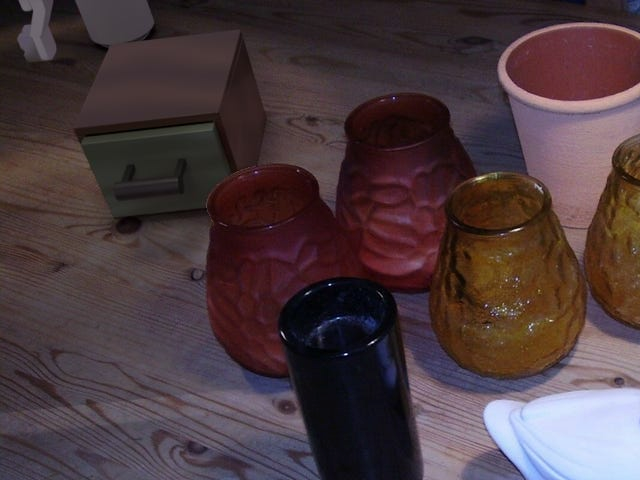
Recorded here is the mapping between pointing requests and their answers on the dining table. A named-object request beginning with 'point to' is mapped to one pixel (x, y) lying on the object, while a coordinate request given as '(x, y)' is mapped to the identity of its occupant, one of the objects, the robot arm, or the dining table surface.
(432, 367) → the dining table surface
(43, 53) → the robot arm
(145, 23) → the can
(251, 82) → the cabinet
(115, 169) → the drawer
